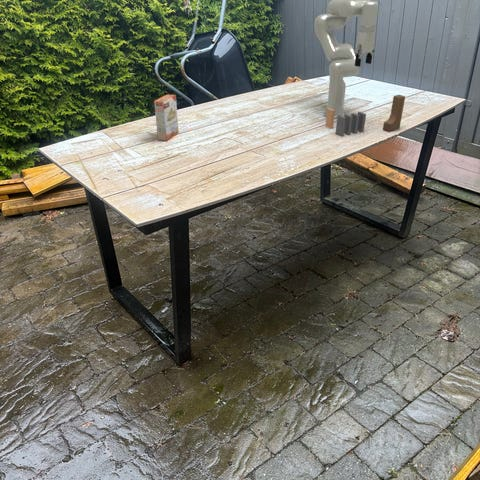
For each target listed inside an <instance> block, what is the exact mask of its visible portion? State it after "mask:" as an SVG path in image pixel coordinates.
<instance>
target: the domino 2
mask: <svg viewBox="0 0 480 480" xmlns="http://www.w3.org/2000/svg"><path fill="white" fill-rule="evenodd" d="M345 119H346V118H345V117H343V116H341V115H337V118H336V128H335V134H336V135H337V136H339V137H344V135H345V133H344V128H345Z"/></svg>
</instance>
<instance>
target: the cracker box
mask: <svg viewBox="0 0 480 480" xmlns="http://www.w3.org/2000/svg"><path fill="white" fill-rule="evenodd" d="M153 105H154V115H155V123H156V124H155V125H156V133H157V140H158V141H162V142H164V141H165V142H168V141H169V140H171V139H172V138H173V137H175V136H177V135H178V134H179V120H178V119H179V118H178V107H177V95H176V94H165V95H163V96H161V97H159V98H158V99H156V100H154V101H153Z"/></svg>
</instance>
